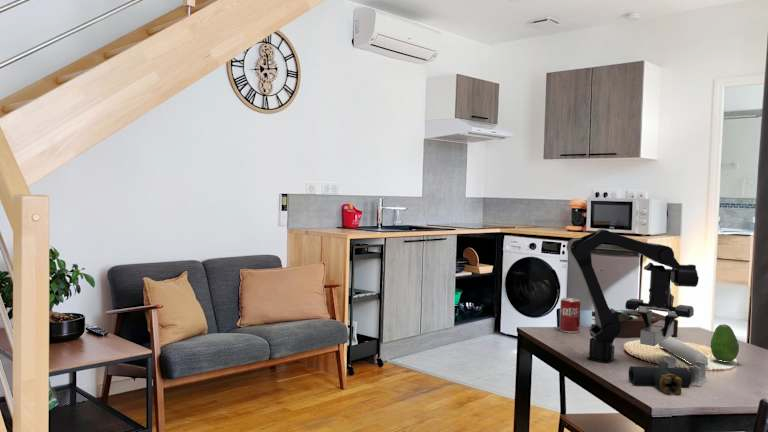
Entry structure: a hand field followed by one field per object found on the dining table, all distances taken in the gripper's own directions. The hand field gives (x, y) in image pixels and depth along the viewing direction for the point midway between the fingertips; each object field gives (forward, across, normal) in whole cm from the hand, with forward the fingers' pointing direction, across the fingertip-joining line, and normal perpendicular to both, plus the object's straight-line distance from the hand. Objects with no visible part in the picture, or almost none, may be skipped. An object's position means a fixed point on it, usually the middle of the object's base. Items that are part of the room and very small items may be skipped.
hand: (657, 335), depth 192 cm
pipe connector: (+9, -9, +25) cm, 28 cm away
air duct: (+1, 0, 0) cm, 1 cm away
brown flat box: (+9, +19, -40) cm, 45 cm away
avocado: (+9, -16, -17) cm, 25 cm away
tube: (+9, -5, -12) cm, 16 cm away
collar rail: (+9, -10, +13) cm, 19 cm away
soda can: (+9, +37, -23) cm, 45 cm away
